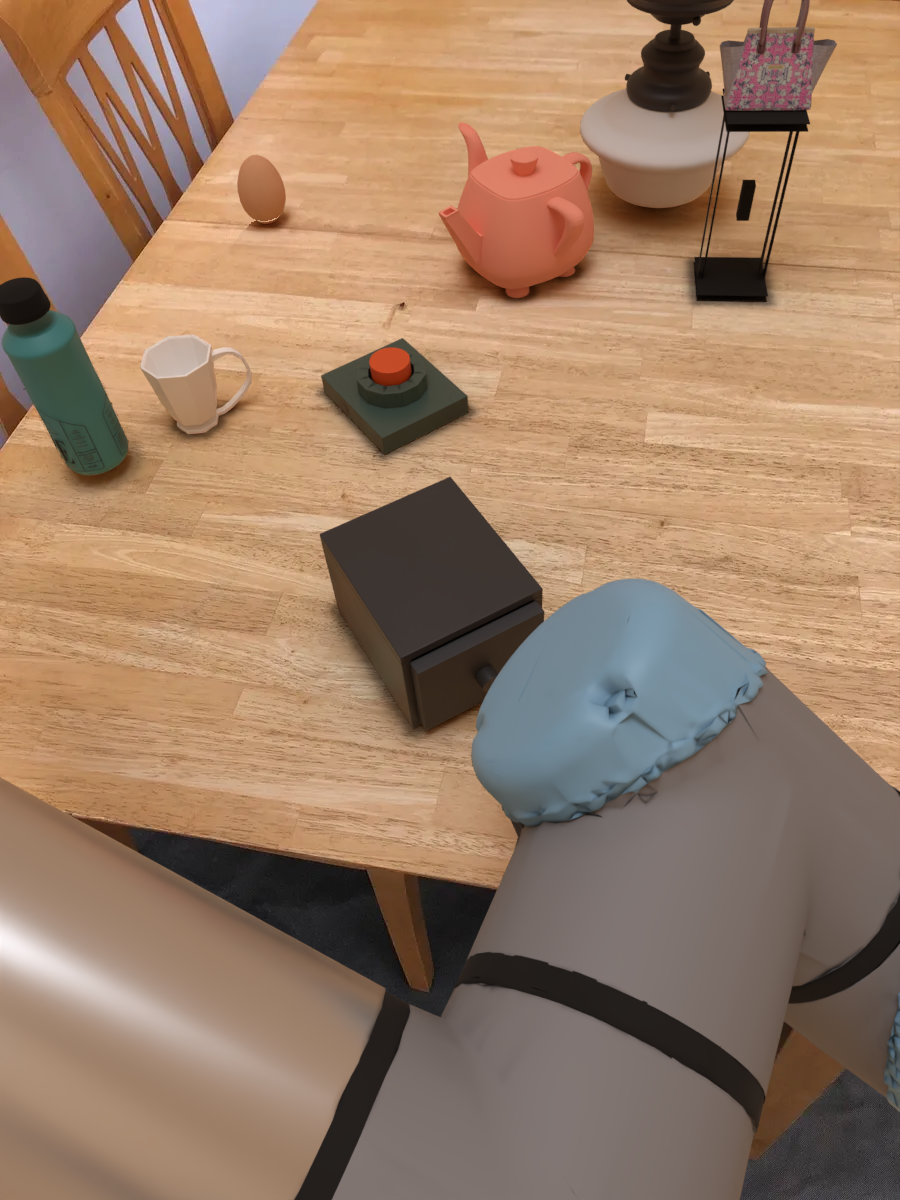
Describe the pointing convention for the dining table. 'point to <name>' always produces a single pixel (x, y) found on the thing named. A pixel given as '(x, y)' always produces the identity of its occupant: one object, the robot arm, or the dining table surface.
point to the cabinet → (421, 579)
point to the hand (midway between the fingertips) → (510, 751)
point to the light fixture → (663, 116)
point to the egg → (261, 189)
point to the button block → (395, 399)
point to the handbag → (761, 104)
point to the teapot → (522, 214)
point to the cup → (189, 380)
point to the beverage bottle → (60, 379)
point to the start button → (390, 366)
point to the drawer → (469, 665)
